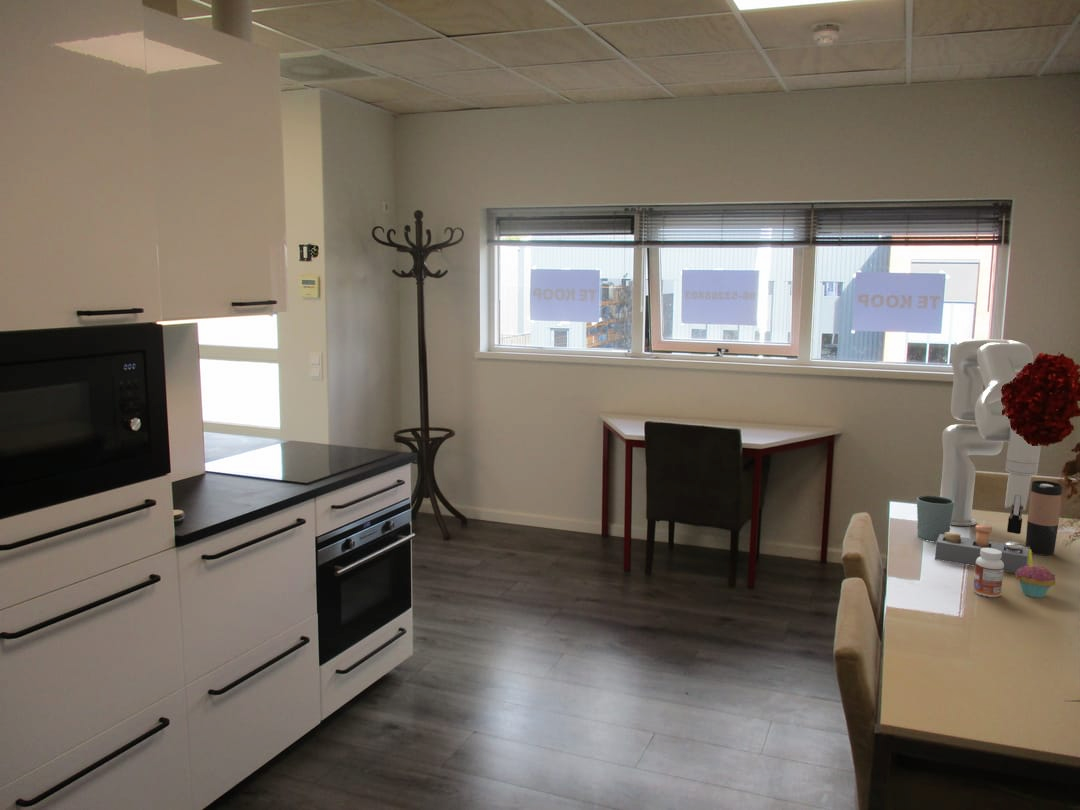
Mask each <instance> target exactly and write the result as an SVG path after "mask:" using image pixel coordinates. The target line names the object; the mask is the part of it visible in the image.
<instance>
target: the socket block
mask: <svg viewBox="0 0 1080 810" xmlns="http://www.w3.org/2000/svg"><path fill="white" fill-rule="evenodd" d="M935 543H936V544H935V553H934V560H937V559H938V560H939V561H943V560H944V561H943V562H949V561H950V563H955V564H956V563H957V564H960V563H961V564H962V565H966V564H969V565H968V566H972V565H974V566H973V567H975V565H976V560H977V558H978V557H981V555H980V550H981V548H986V547H980V546H975V544H976V538H969V537H965V536H964V537H963V536H960V540H958V543H955V542H949V541H946V539H945V538H944V534H940V535H939V537H938V539H937V542H935ZM988 548H993V549H997V550H1000V551H1001V552H1002V557H1001V559H1000V560H1001V561H1002V562H1003V563H1004V570H1003V572H1007V571H1008V572H1009V573H1013V572H1014V573H1015V574H1016V571H1017V570H1018V569H1019V568H1021V567H1023V566H1028V559H1029V552H1028V547H1026V546H1022V550H1020V553H1017V552H1011V551H1006V548H1005V543H1003V542H996V541H990V540H989V546H988ZM1008 572H1007V573H1008Z"/></svg>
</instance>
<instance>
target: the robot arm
mask: <svg viewBox="0 0 1080 810" xmlns="http://www.w3.org/2000/svg"><path fill="white" fill-rule="evenodd" d="M1031 362H1033V363H1034V354H1033V351H1032V349H1031V348H1030V346H1029V345H1028V344H1027V343H1024V342H1020V341H1017V340H1012V339H994V338H993V339H992V338H991V339H988V338H987V339H986V338H965V339H959V340H957V341H955V342H954V343H953V345H952V347H951V350H950V363H951V368H952V372H953V383H952V392H951V402H950V412H951V413H950V414H951V416H952V417H953V419H955V420H959V421H964V422H975V423H976V424H962V423H958V424H957V423H956V424H951V425H948V426H946V427H945V428H944V430H943V432H942V435H941V436H942V437H941V441H942V451H943V452H942V455H943V456H942V457H943V458H942V472H941V473H942V474H941V483H940V494H939V496H940V497H946V498H949V499H952V500H953V501H954V507H953V512H952V518H951V526H959V527H960V526H961V527H969V526H974V525H975V526H976V525H977V519H976V518H975V517H973V516H972V512H973V511H972V510H973V503H974V502H973V500H974V492H975V482H976V472H977V471H976V466H975V464H974V463H973V461H972V460H971V459H970V457H969V456H976V455H977V456H997V455H999V454H1000V453H1001V451H1002V449H1003V447H1004V443H1006V442H1007V444H1008V445H1007V451H1006V461H1005V467H1004V468H1005V471H1006V472H1008V478H1007V484H1006V491H1005V499H1004V500H1005V502H1004V508H1005V509H1006V510H1007V509H1010V512H1009V516H1008V521H1007V529H1006V531H1007V533H1010V534H1017V535H1021V533H1022V525H1023V518H1022V515H1023V512H1024V511H1026V509H1027V505H1028V501H1029V498H1030V493H1031V486H1032V477H1033V476H1036V475H1038V472H1039V471H1038V470H1039V463H1040V456H1041V447H1042V445H1041V446H1032V445H1030V444H1028V443H1027V442H1026V441H1025V440H1024V439H1023V438H1022V437H1021V436H1019V435H1018V434H1016V433H1015V432H1014V431H1013V430H1012V429H1011V426H1010V421H1009V419H1008V417H1006V416H1003V415H1002V410H1003V405H1002V402H1001V397H1002V393H1001V389H1002V386H1003V385H1004V384H1006V383H1008V382H1010V381H1012V380H1013V379H1014V378H1015V377H1017V373H1019V372H1020V371H1021V370H1022V369H1023V367H1024V366H1025V365H1026V364H1028V363H1031ZM1020 373H1021V372H1020Z"/></svg>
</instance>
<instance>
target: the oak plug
mask: <svg viewBox="0 0 1080 810" xmlns="http://www.w3.org/2000/svg"><path fill="white" fill-rule="evenodd" d="M960 537H961V534H960V533H958V532H953V531H950V532H945V534H944V538H945V539H946V541H949V542H955V543H958V540H960Z"/></svg>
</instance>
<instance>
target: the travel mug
mask: <svg viewBox="0 0 1080 810" xmlns="http://www.w3.org/2000/svg"><path fill="white" fill-rule="evenodd" d="M1062 493H1063V484H1061V483H1058V482H1054V481H1047V480H1046V481H1045V480H1034V481H1031V487H1030V495H1029V498H1030V499H1029V504H1028V511H1027V512H1028V513H1027V522H1026V536H1025V537H1026V538H1025V547H1028V550H1029V547H1030V549H1031V551H1032V554H1035V553H1036V555H1040V554H1043V555H1042V556H1051V555H1050V554H1052V555H1054V554H1053V553H1055V547H1056V542H1057V536H1058V529H1059V522H1060V511H1061V505H1062V504H1061V503H1062Z"/></svg>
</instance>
